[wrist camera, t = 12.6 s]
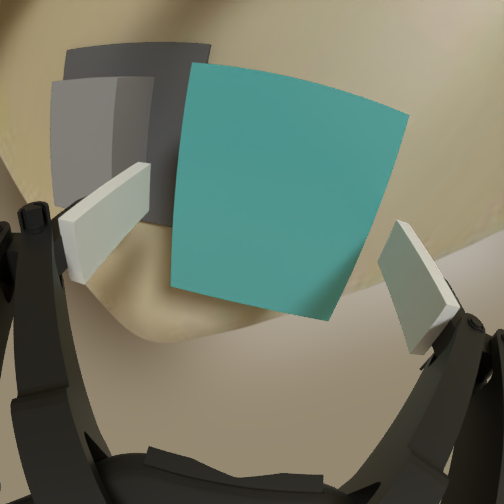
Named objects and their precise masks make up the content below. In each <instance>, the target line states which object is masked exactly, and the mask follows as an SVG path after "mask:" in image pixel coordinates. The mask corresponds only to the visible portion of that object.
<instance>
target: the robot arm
mask: <svg viewBox="0 0 504 504" xmlns="http://www.w3.org/2000/svg"><path fill="white" fill-rule="evenodd" d="M150 171H151V164H150V163H143V162H137V163H135V164H134V165H132V166H131V167H129V168H128V169H126V170H125V171H123V172H121V173H120V174H118V175H117V176H115V177H114V178H112V179H111V180H110V181H108V182H107V183H105V184H104V185H102V186H101V187H99V188H98V189H97V190H95V191H94V192H92V193H91V194H90V195H88V196H86V197H83V198H81V199H78V200H76V201H75V202H74V203H72V204H71V205H70V206H68V207H67V208H66V209H65V210H64V211H62V212H61V213H59V214H58V215H57V216H55V217H54V218H53V219H52V220H51V218H50V212H49V206H48V203H46V202H42V201H38V202H32V203H29V204H27V205H25V206H23V207H22V208H21V209H19V211H18V212H17V214H18V218H19V223H20V227H21V233H12V232H11V228H10V225H9V223H8V222H5V221H2V222H0V377H1V371H2V365H3V359H4V354H5V349H6V344H7V340H8V335H9V331H10V327H11V323H12V320H13V316H14V325H13V326H14V358H15V371H16V381H17V390H18V396H17V398H15V399H12V401H11V416H12V422H13V428H14V433H15V438H16V443H17V447H18V451H19V455H20V459H21V463H22V467H23V470H24V474H25V477H26V480H27V483H28V486H29V490H30V492H31V494H30V495H28V496H25V497H23V498H20V499H18V500H15V501H12V502H10V503H7V504H439V502H440V501H441V503H440V504H504V330H503V329H498V330H497V331H496V333H495V334H494V335H493V336H490V335H488V334H486V333H485V328H484V326H483V324H482V323H481V321H480V320H479V319H478V318H477V317H475V316H474V315H472V314H469V313H465V311H464V309H463V308H462V306H461V304H460V302H459V300H458V298H457V297H456V296H455V293H454V291H452V288H451V286H450V285H449V283H448V281H447V280H446V279H445V278H444V277H443V276H442V274H441V272H440V271H439V269H438V268H437V266H436V264H435V263H434V261H433V259H432V258H431V256H430V255H429V253H428V252H427V250H426V249H425V247H424V246H423V244H422V243H421V241H420V240H419V238H418V237H417V235H416V234H415V232H414V231H413V229H412V228H411V227H410V225H409V224H408V223H406V222H402V221H399V220H396V222H395V225H394V227H393V229H392V231H391V234H390V236H389V238H388V240H387V243H386V245H385V247H384V249H383V251H382V253H381V256H380V258H379V260H378V264H379V266H380V269H381V271H382V274H383V277H384V279H385V282H386V284H387V287H388V289H389V292H390V295H391V298H392V301H393V303H394V306H395V309H396V312H397V315H398V318H399V321H400V324H401V327H402V330H403V333H404V336H405V339H406V342H407V346H408V349H409V352H410V354H418V355H424V354H425V353H426V352H427V351H428V349H429V348H430V347H431V346H432V347H433V349H434V353H433V354H432V356H431V357H430V358H429V359H428V360H427V361H426V362H425V364H424V365H423V366H422V367H421V368H420V370H422V369H423V368H424V370H423V372H422V374H421V375H420V377H419V379H418V381H417V383H416V385H415V387H414V388H413V390H412V392H411V394H410V396H409V397H408V399H407V401H406V402H405V404H404V406H403V408H402V409H401V411H400V412H399V414H398V415H397V417H396V419H395V420H394V422H393V423H392V425H391V426H390V428H389V429H388V431H387V432H386V434H385V435H384V437H383V438H382V440H381V441H380V443H379V444H378V445H377V447H376V448H375V449H374V451H373V452H372V454H371V455H370V456H369V458H368V459H367V460H366V462H365V463H364V464H363V465H362V467H361V468H360V469H359V470H358V472H357V473H356V474H355V475H354V476H353V477H352V478H351V479H350V480H349V481H348V482H346V483H345V484H344V485H342V486H341V487H340V488H339V489H336V488H335V487H332V486H329V485H327V484H324V483H323V475H306V474H288V473H280V474H273V475H264V476H255V477H244V478H237V477H232V476H230V475H227V474H225V473H223V472H220V471H218V470H216V469H213V468H211V467H209V466H207V465H205V464H203V463H200V462H198V461H196V460H194V459H192V458H189V457H185V456H181V455H177V454H173V453H170V452H166V451H163V450H160V449H156V448H153V447H150V446H149V447H148V451H147V454H145V453H127V454H120V455H115V456H111V453H110V451H109V449H108V447H107V445H106V443H105V441H104V439H103V437H102V435H101V433H100V431H99V428H98V426H97V424H96V420H95V418H94V415H93V412H92V409H91V406H90V402H89V399H88V396H87V393H86V389H85V386H84V382H83V379H82V375H81V371H80V368H79V363H78V359H77V355H76V351H75V346H74V341H73V337H72V331H71V327H70V321H69V315H68V309H67V303H66V295H65V287H64V280H63V276H62V273H63V272H64V271H65V270H66V269H68V273H69V277H70V280H72V281H76V282H78V283H81V284H84V285H85V284H86V283H87V281H88V280H89V279H90V278H91V276H92V275H93V274H94V273H95V271H96V270H97V269H98V268H99V267H100V265H101V264H102V263H103V262H104V261H105V259H106V258H107V257H108V256H109V255H110V253H111V252H112V251H113V250H114V249H115V248H116V247H117V245H118V244H119V243H120V242H121V241H122V240H123V239H124V237H125V236H126V235H127V234H128V233H129V232H130V231H131V230H132V229H133V227H134V226H135V225H136V224H137V223H138V222H139V221H140V220H141V219H142V218H143V217H144V216H145V214H146V213H147V212H148V211H149V194H150ZM491 375H492V377H491V379H490V380H489V382H488V383H487V379H488V378H489V377H490V376H491ZM453 446H454V450H453V455H452V460H451V465H450V470H449V474H448V475H446V474H445V473H443V470H444V467H445V465H446V463H447V461H448V458H449V456H450V454H451V452H452V449H453ZM0 490H1V484H0ZM441 499H442V500H441Z"/></svg>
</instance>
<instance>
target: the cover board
mask: <svg viewBox="0 0 504 504" xmlns="http://www.w3.org/2000/svg"><path fill="white" fill-rule="evenodd" d="M408 118H409V115H408V114H405V113H403V112H400V111H398V110H395V109H393V108H390V107H388V106H385V105H383V104H380V103H377V102H374V101H372V100H369V99H366V98H363V97H360V96H357V95H354V94H351V93H348V92H345V91H342V90H338V89H335V88H331V87H328V86H324V85H321V84H317V83H313V82H309V81H305V80H301V79H297V78H293V77H288V76H284V75H279V74H274V73H269V72H263V71H258V70H252V69H245V68H239V67H232V66H224V65H215V64H205V63H193V62H192V66H191V71H190V77H189V83H188V89H187V95H186V102H185V109H184V116H183V123H182V131H181V139H180V148H179V157H178V166H177V177H176V188H175V200H174V214H173V231H172V252H171V287H175V288H179V289H183V290H187V291H191V292H195V293H199V294H203V295H207V296H211V297H216V298H220V299H224V300H228V301H233V302H237V303H242V304H246V305H250V306H255V307H260V308H264V309H269V310H274V311H278V312H283V313H288V314H294V315H298V316H304V317H308V318H314V319H319V320H325V321H329V319H330V317H331V315H332V313H333V311H334V309H335V307H336V305H337V302H338V300H339V299H340V296H341V294H342V292H343V290H344V288H345V286H346V284H347V282H348V279H349V277H350V275H351V273H352V271H353V268H354V266H355V264H356V262H357V259H358V257H359V255H360V253H361V250H362V248H363V245H364V243H365V241H366V238H367V236H368V233H369V231H370V229H371V226H372V224H373V221H374V219H375V216H376V213H377V211H378V208H379V206H380V203H381V200H382V198H383V195H384V192H385V189H386V187H387V184H388V181H389V178H390V175H391V172H392V169H393V166H394V163H395V160H396V157H397V154H398V151H399V148H400V145H401V142H402V138H403V135H404V132H405V128H406V125H407V121H408Z"/></svg>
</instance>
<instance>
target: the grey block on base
mask: <svg viewBox="0 0 504 504" xmlns="http://www.w3.org/2000/svg"><path fill="white" fill-rule="evenodd" d="M210 48H211V45H210V44H199V43H177V42H145V43H123V44H110V45H100V46H92V47H84V48H77V49H71V50H67V52H66V59H65V68H64V77H63V81H55V82H52V90H51V109H50V153H51V172H52V185H53V195H54V204H55V206H58V207H63V208H67V207H68V206H70V205H71V204H72V203H74V202H75V201H76V200H78V199H81V198H83V197H86V196H88V195H90V194H91V193H92V192H94V191H95V190H97V189H98V188H99V187H101V186H102V185H104V184H105V183H107V182H108V181H110V180H111V179H112V178H114V177H115V176H117V175H118V174H120V173H121V172H123V171H125V170H126V169H128V168H129V167H131V166H132V165H134V164H135V163H137V162H143V163H150V164H151V171H150V194H149V211H148V212H147V213H146V214H145V216H144V217H143V218H142V219H141V220H142V221H146V222H151V223H156V224H160V225H165V226H169V227H173V214H174V200H175V188H176V177H177V166H178V157H179V148H180V139H181V131H182V123H183V116H184V109H185V102H186V95H187V89H188V83H189V77H190V71H191V66H192V62H193V63H205V64H207V63H208V58H209V53H210Z"/></svg>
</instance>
